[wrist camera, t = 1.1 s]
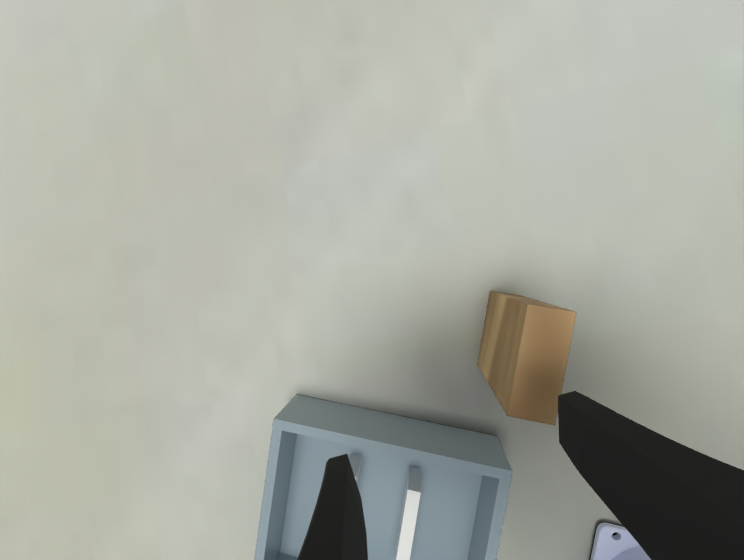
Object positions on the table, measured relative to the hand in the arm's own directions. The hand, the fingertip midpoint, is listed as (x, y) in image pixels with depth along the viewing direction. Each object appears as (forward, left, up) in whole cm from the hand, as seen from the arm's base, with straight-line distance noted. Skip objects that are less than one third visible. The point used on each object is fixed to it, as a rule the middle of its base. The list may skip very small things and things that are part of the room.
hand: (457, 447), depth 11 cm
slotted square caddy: (+2, +11, -12) cm, 16 cm away
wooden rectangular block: (-4, -2, -12) cm, 13 cm away
